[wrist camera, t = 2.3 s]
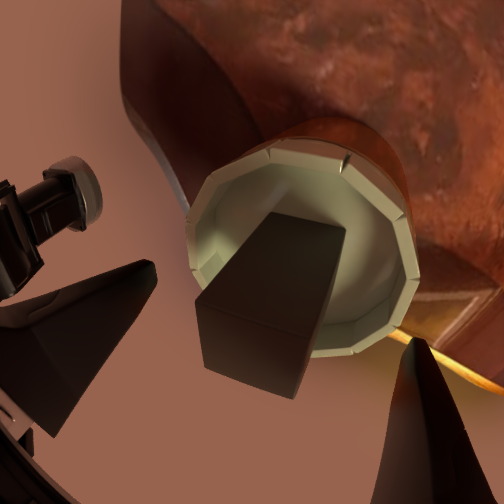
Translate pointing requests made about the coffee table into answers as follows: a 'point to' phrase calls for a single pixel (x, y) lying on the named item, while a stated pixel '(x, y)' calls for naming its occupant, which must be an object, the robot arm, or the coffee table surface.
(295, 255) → the block
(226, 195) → the jar
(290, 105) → the coffee table surface
